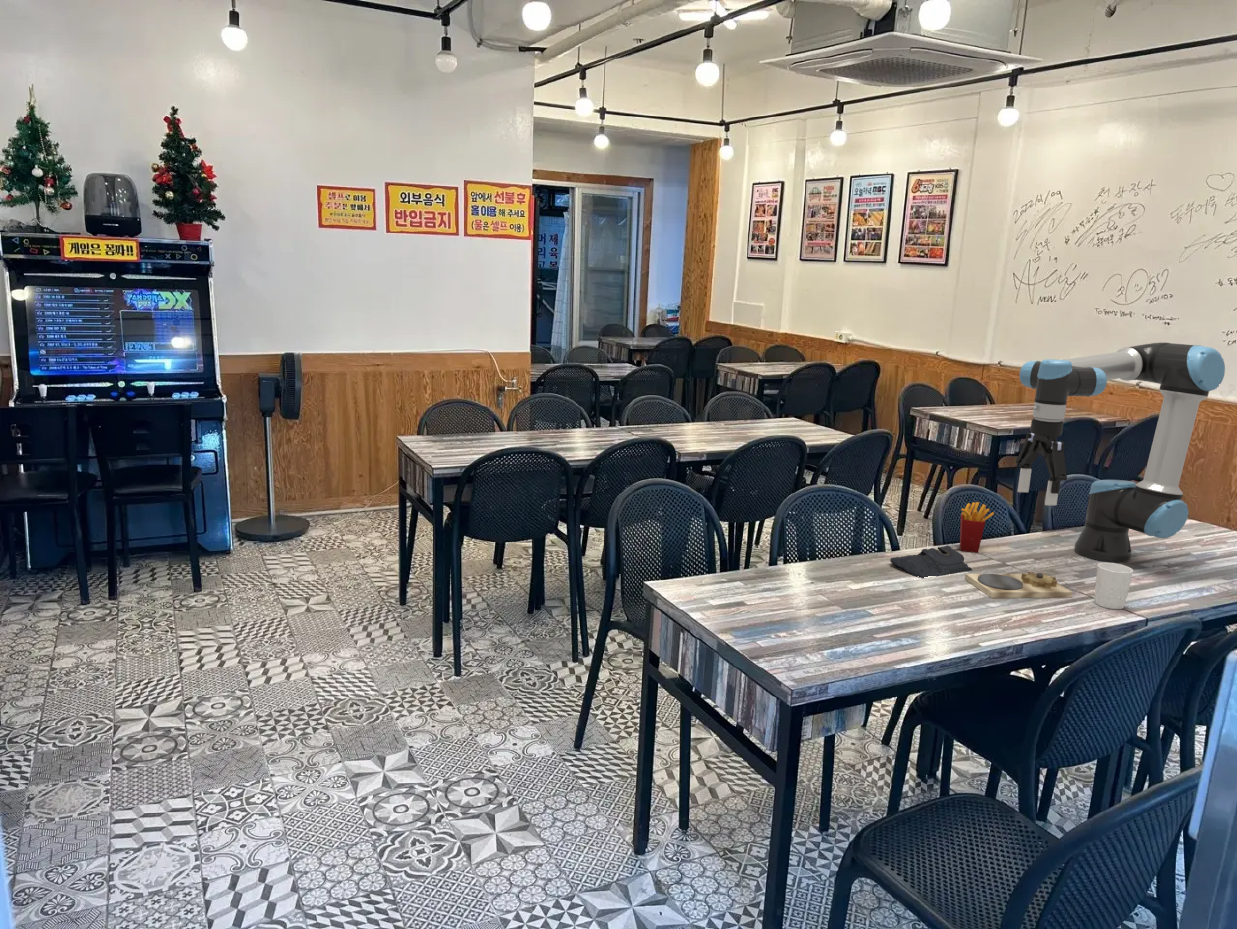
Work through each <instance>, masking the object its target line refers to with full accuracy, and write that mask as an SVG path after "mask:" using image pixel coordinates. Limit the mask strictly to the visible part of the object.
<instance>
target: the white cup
mask: <svg viewBox="0 0 1237 929" xmlns="http://www.w3.org/2000/svg"><path fill="white" fill-rule="evenodd" d="M1133 573H1134V569H1133V568H1131V567H1129V566H1126V565H1124V564H1121V563H1117V562H1099V563H1097V568H1096V574H1095V575H1096V577H1095V587H1094V588H1095V589H1094V599H1093V602H1094V603H1095V604H1096V605H1097V606H1100V607H1102V608H1105V609H1111V610H1122V609H1124V608H1125V606H1126V601H1127V597H1128V595H1129V594H1128V593H1129V590H1130V586H1131V582H1132V577H1133Z"/></svg>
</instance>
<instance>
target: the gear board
mask: <svg viewBox="0 0 1237 929" xmlns="http://www.w3.org/2000/svg"><path fill="white" fill-rule="evenodd" d="M965 579H966V580H965ZM964 580H965V581H967V582H968V583H969V584H971V585H973V586H974V588H977V589H978V590H980V591H981V592H983V593H984V594H985V595H987V596H988V597H990V599H991V598H992V599H1017V598H1018V599H1026V598H1027V599H1028V598H1029V599H1037V598H1039V599H1042V598H1045V599H1046V598H1047V599H1050V598H1052V599H1053V598H1055V599H1056V598H1057V599H1058V598H1059V599H1060V598H1069V599H1070V598H1072V596H1073V591H1072V590H1070V589H1068V588H1066V587H1065V586H1063V585H1062V584H1060V583H1058V580H1056V577H1055V576H1050V575H1047V574H1046V573H1045V572H1043V573H1042V572H1036V573H1035V572H1033V571H1028V572H1027V573H1025V572H1022V573H965V575H964Z"/></svg>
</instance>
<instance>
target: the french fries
mask: <svg viewBox="0 0 1237 929" xmlns="http://www.w3.org/2000/svg"><path fill="white" fill-rule="evenodd" d="M979 505H980V502H978V501H976V502H975V501H974V502H972V503H970V502H969V503H967V504H966V505H965V508H961V509H960V510H961V511H962V512H961V515H960V526H959V527H960V528H959V529H960V531H959V532H960V533H959V549H960V551H961V552H964V553H965V552H966V553H972V554H973V553H975V554H979V550H980V546H981V542H982V538H983V533H984V529H985V525H986V520H988V519H989V518H991V517H993V515H995V513H994V512H993V511H992V512H991V513H990V514H988V513H989V512H990V508H986V507H987V505H986V504H984V503H982V505H981V506H980V508H979V511H978V507H979ZM987 514H988V515H987Z"/></svg>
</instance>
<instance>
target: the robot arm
mask: <svg viewBox="0 0 1237 929" xmlns="http://www.w3.org/2000/svg"><path fill="white" fill-rule="evenodd" d="M1225 371H1226V365H1225V361H1224V358H1223V356H1222V354H1221V353H1220V352H1219V351H1218V350H1217V349H1216V348H1214V347H1209V346H1204V345H1197V344H1182V343H1170V342H1151V343H1145V344H1138V345H1132V346H1126V347H1122V348H1120V349H1118V350H1117V351H1115V352H1109V353H1108V352H1107V353H1100V354H1095V355H1093V354H1092V355H1088V356H1086V355H1085V356H1081V357H1074V358H1073V357H1072V358H1064V359H1055V358H1054V359H1053V358H1052V359H1050V358H1046V359H1042V360H1041V361H1040V360H1029V361H1026V362H1025V363H1024V364H1022V367H1021V368H1020V370H1019V381H1020V383H1021V384H1022V386H1024V387H1027V388H1030V389H1033V390H1035V394H1034V404H1033V406H1032V417H1033V418H1032V419H1031V423H1030V430H1029V431H1030V432H1027V433H1026V436H1025V440H1024V443H1023V444H1022V447H1021V450H1020V451H1019V454H1018V456H1017V458H1016V461H1015V463H1016V464H1017V465H1019V468H1020V470H1019V471H1020V472H1019V478H1018V485H1017V490H1016V491H1017V493H1029V490H1030V484H1031V477H1032V476H1031V474H1032V468H1033V466H1032V465H1033V463H1035V461H1036V460H1037V459H1038V457H1039V456H1040V455H1041V456H1042V458H1043V459H1044V460H1045V462H1046V464H1045V465H1046V467H1047V469H1048V474H1049V478H1048V479H1047V487H1046V494H1045V499H1044V500H1045V501H1044V505H1045V506H1057V503H1058V498H1059V497H1058V496H1059V492H1060V487H1061V486H1060V485H1061V482H1063V481H1067V480H1068V474H1067V469H1066V468H1067V466H1066V460H1065V459H1066V458H1065V452H1064V451H1065V443H1064V441H1058V440H1057V438H1058V437H1060V436H1062V434H1063V428H1064V422H1063V420H1065V419H1066V418H1065V417H1066V409H1067V404H1068V397H1087V398H1089V397H1094V396H1098V395H1100V394H1102V393H1103V392H1104V390H1105V389H1106V387H1107V383H1108V381H1110V380H1117V379H1120V380H1122V381H1124V382H1125V381H1126V382H1129V381H1141V382H1147V383H1148V382H1149V383H1156V384H1160V385H1159V389H1158V391H1159V392H1160V393H1161V395H1162V396H1163V399H1162V404H1161V408H1160V410H1159V411H1160V412H1159V416H1158V420H1157V424H1156V428H1155V432H1154V435H1153V439H1152V440H1153V441H1152V444H1151V447H1150V448H1151V449H1150V452H1149V457H1148V459H1147V464H1146V467H1145V468H1146V469H1145V472H1144V476H1143V480H1141V481H1139V482H1137V483H1136V482H1134V481H1131V480H1122V479H1121V480H1120V479H1097V480H1095V481H1093V482H1092V483H1091V486H1090V491H1089V493H1088V501H1087V507H1086V508H1087V509H1086V514H1085V515H1086V516H1085V520H1084V521H1085V522H1084V527H1083V529H1082V530H1081V532H1080V534H1079V536H1078V538H1077V540H1076V541H1075V542H1074V543H1075V544H1074V547H1073V548H1074V552H1075V553H1076V554H1079V555H1080V556H1082V557H1085V558H1089V559H1091V560H1096V561H1102V562H1107V563H1127V562H1130V561H1131V559H1132V554H1133V553H1132V552H1133V551H1132V547H1131V542H1130V536H1129V530H1132V531H1136V532H1139V533H1142V534H1144V535H1147V536H1148V537H1155V538H1159V539H1168V538H1171V537H1173V536H1175V535H1176V534H1177V533H1179V532H1180V531H1181V530H1182V529H1183V527H1184V526H1185V524H1186V522H1187V520H1188V516H1189V508H1188V504H1187V503H1186V502H1185V501H1183V500H1182V499H1183V495H1184V492H1183V491H1182V490H1181V489H1180V487H1179V485H1180V482H1181V477H1182V473H1183V469H1184V465H1185V461H1186V457H1187V454H1188V450H1189V447H1190V446H1189V445H1190V441H1191V438H1192V434H1193V430H1194V426H1195V422H1196V418H1197V414H1198V409H1199V406H1200V403H1201V402H1202V401H1203V400H1206V399H1207V398H1208V397H1209V393H1210V391H1215V390H1217V388H1219V387H1220V385H1221V384H1222V382H1223V380H1224V377H1225V373H1226V372H1225Z"/></svg>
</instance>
